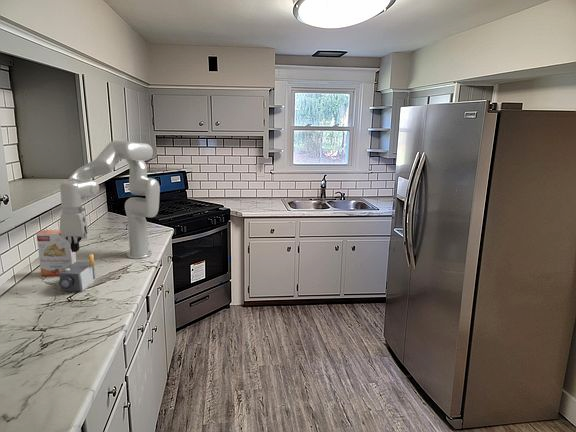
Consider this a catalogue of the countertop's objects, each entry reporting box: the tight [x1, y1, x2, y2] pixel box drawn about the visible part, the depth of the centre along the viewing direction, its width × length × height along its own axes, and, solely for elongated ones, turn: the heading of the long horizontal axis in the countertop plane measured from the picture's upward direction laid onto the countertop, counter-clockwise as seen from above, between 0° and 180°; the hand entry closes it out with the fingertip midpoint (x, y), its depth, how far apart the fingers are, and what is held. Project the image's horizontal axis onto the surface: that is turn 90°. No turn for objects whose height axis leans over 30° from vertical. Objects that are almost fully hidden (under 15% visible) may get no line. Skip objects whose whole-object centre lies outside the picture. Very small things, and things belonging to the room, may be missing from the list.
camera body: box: [58, 261, 96, 292], centre depth 177 cm, size 17×8×9 cm, turn 1°
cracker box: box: [36, 229, 77, 277], centre depth 188 cm, size 14×6×21 cm, turn 98°
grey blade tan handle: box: [78, 253, 95, 293], centre depth 175 cm, size 11×2×13 cm, turn 1°
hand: (75, 251), depth 177 cm, fingers closed
